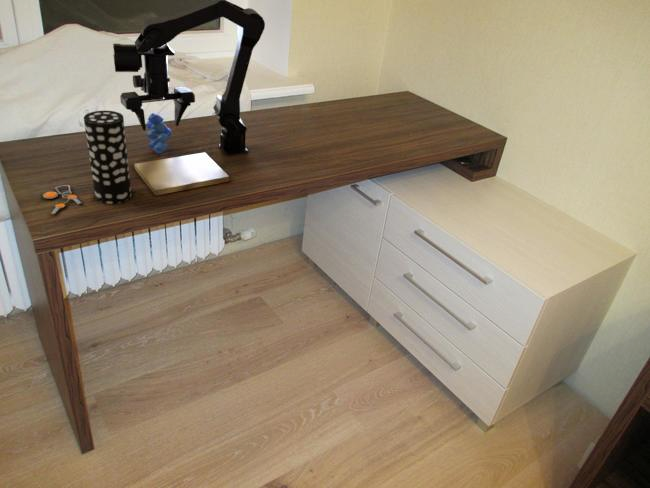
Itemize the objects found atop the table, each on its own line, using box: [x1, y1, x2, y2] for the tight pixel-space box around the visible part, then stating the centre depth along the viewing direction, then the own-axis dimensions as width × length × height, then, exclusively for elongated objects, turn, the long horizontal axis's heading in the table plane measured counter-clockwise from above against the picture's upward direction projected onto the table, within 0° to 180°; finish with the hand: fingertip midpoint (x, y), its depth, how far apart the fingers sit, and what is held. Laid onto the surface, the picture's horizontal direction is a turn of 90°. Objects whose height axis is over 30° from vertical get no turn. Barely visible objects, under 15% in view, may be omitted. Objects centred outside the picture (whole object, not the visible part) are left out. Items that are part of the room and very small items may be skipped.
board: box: [133, 152, 230, 196], centre depth 145 cm, size 20×16×2 cm
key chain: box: [42, 184, 82, 215], centre depth 128 cm, size 13×7×1 cm, turn 31°
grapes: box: [145, 112, 173, 155], centre depth 152 cm, size 12×7×12 cm, turn 35°
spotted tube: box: [83, 110, 132, 205], centre depth 127 cm, size 8×8×20 cm
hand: (160, 127), depth 151 cm, fingers open, 9 cm apart
